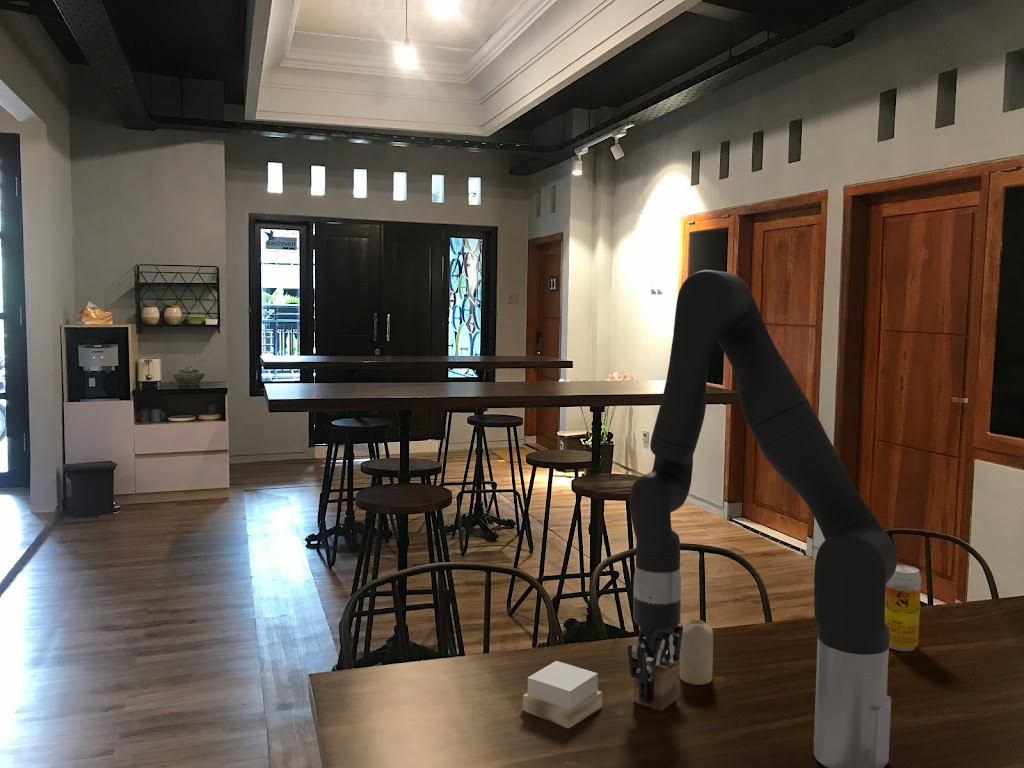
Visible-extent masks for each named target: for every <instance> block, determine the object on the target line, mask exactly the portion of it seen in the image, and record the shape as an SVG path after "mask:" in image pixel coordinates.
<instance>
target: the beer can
mask: <svg viewBox="0 0 1024 768" xmlns="http://www.w3.org/2000/svg"><path fill="white" fill-rule="evenodd" d="M921 589H922V575H921V573H920V569H919V568H917V567H914V566H911V565H910V566H909V565H905V564H897V566H896V570H895V572H894V574H893V576H892V577H891V578H890V580H889V581H888V582H887V583H886V591H885V623H886V624H887V626H888V628H889V633H890V634H889V649H893V650H896V651H900V652H902V651H903V652H912V651H914V650H915V649H916V647H918V646H919V633H920V631H919V630H920V610H921V592H922V591H921Z"/></svg>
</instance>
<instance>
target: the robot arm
mask: <svg viewBox="0 0 1024 768" xmlns="http://www.w3.org/2000/svg"><path fill="white" fill-rule="evenodd" d="M675 305H676V306H675V313H674V321H673V322H674V323H673V325H674V326H673V335H672V342H671V348H670V349H671V350H670V356H669V363H668V369H667V373H666V380H665V385H664V389H663V394H662V397H661V401H660V406H659V409H658V412H657V415H656V416H657V417H656V419H655V423H654V426H653V431H652V433H651V434H652V435H651V438H650V445H649V446H650V451H651V452H652V454H653V455H654V460H653V467H652V468H651V469H652V470H651V472H649V473H645V474H644V475H641V476H639V477H638V478H637V479H635V481H634V482H633V484H632V486H631V489H630V494H629V501H628V503H629V512H630V517H631V521H632V523H631V524H632V527H633V532H634V535H635V539H636V540H635V541H636V543H635V569H634V575H633V597H632V598H633V599H632V601H633V606H632V607H633V608H632V609H633V611H632V612H633V613H632V617H633V618H632V619H633V621H634V622H635V624H636V625H637V626H638V627H639V634H638V637H637V642H636V643H635V644H633V643H629V644H627V645H628V646H627V656H628V663H629V671H630V677H631V679H634V678H635V679H638V680H639V699H640V701H642V702H645V703H648V704H650V703H652V702H653V682H654V681H653V679H654V672H655V669H656V667H658V666H659V663H660V660H663V661H667V662H669V663H673V664H675V662H676V663H678V661H680V648H681V641H682V633H683V625H682V624H680V623H681V607H682V603H681V602H682V577H681V540H680V536H679V534H678V533H677V532H676V531H675V530H673V528H672V520H671V517H672V516H671V513H673V512H675V511H677V510H679V509H680V508H681V507H683V505H684V503H685V502H686V500H687V498H688V496H689V494H690V490H691V485H692V479H693V478H692V477H693V476H692V475H693V466H694V453H695V451H696V448H697V445H698V441H699V438H700V435H701V432H702V427H703V425H704V420H705V415H706V410H707V380H708V370H709V365H710V361H711V355H712V353H713V350H714V347H715V346H716V342H717V343H718V345H719V347H721V349H722V351H723V354H725V356H726V358H727V359H728V362H729V364H730V365H731V368H732V370H733V374H734V376H735V377H734V378H735V382H736V387H737V393H738V397H739V402H740V406H741V410H742V414H743V416H744V419H745V422H746V424H747V426H748V429H749V431H750V432H751V434H752V436H753V438H754V439H755V442H756V444H757V445H758V447H759V448H760V450H761V453H762V454H763V456H764V457H765V459H766V461H767V462H768V463H769V464H770V465H771V467H772V468H773V469H774V470H775V471H776V472H777V474H778V475H780V477H782V478H783V480H784V481H785V482H786V483H787V484H788V485H789V486H790V487H791V488H792V489H793V490H794V491H795V492H796V493H797V495H799V497H800V498H802V500H803V501H804V502H805V504H806V506H807V507H808V509H809V510H810V512H811V514H812V515H813V517H814V520H815V521H816V523H817V525H818V528H819V529H820V531H821V535H822V536H823V538H824V541H823V542H822V543H821V545H820V546H819V547H818V550H817V553H816V557H815V562H814V577H813V579H814V581H813V583H814V585H813V588H814V590H813V591H814V592H813V594H814V595H813V599H814V600H813V601H814V602H813V603H814V604H813V607H814V609H813V610H814V611H813V613H814V618H815V622H816V625H817V644H816V645H817V647H816V648H817V650H816V677H815V702H814V703H815V705H814V728H813V729H814V730H813V731H814V732H813V733H814V735H813V755H814V758H815V759H816V761H817V762H819V764H821V765H822V766H824V767H825V768H885V767H886V765H887V764H888V763H889V757H890V755H889V754H890V737H891V734H890V733H891V716H892V715H891V713H892V712H891V711H892V710H891V709H892V708H891V707H892V697H891V696H890V695H888V679H889V678H888V676H889V675H888V673H889V670H888V669H889V653H890V651H889V650H890V647H889V634H890V633H889V628H888V626H887V624H886V623H885V591H886V583H887V582H888V581H889V580H890V578H891V577H892V576H893V574H894V572H895V570H896V566H897V565H898V556H897V555H898V554H897V551H896V547H895V545H894V543H893V541H892V539H891V538H890V536H889V535H888V533H887V532H886V530H885V528H883V526H882V525H881V523H880V522H879V520H878V519H877V518H876V516H875V514H873V512H872V510H871V509H870V508H869V506H868V505H867V503H866V502H865V500H864V499H863V497H862V496H861V494H860V493H859V491H858V490H857V489H856V487H855V484H853V481H852V480H851V478H850V476H849V474H848V473H847V470H846V468H845V466H844V464H843V463H842V461H841V458H840V456H839V454H838V453H837V451H836V449H835V447H834V446H833V444H832V442H831V440H830V438H829V436H828V434H827V432H826V431H825V428H824V426H823V424H822V422H821V420H820V419H819V416H818V415H817V413H816V411H815V410H814V407H813V406H812V404H811V403H810V401H809V399H808V398H807V396H806V395H805V393H804V392H803V390H802V388H801V386H800V385H799V383H798V381H797V379H796V377H795V376H794V375H793V373H792V371H791V369H790V367H789V365H788V364H787V362H786V361H785V359H784V358H783V356H782V355H781V353H780V352H779V350H778V348H777V346H776V345H775V343H774V341H773V339H772V337H771V335H770V333H769V331H768V328H767V326H766V324H765V321H764V319H763V316H762V315H761V312H760V310H759V308H758V305H757V303H756V300H755V298H754V296H753V294H752V291H751V289H750V287H749V286H748V284H747V283H746V282H745V281H744V280H743V279H742V278H740V277H739V276H738V275H736V274H733V273H731V272H727V271H719V270H713V269H704V270H699V271H696V272H694V273H693V274H690V275H689V276H688V277H687V278H686V279H685V280H684V281H683V283H682V284H681V287H680V288H679V292H678V296H677V300H676V304H675ZM648 657H650V658H654V660H653V661H651V660H648V659H647V658H648ZM647 665H648V666H649V672H647ZM637 668H638V671H637Z"/></svg>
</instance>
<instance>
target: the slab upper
mask: <svg viewBox="0 0 1024 768" xmlns="http://www.w3.org/2000/svg"><path fill="white" fill-rule="evenodd" d="M598 677H599V676H598V672H594V671H591V670H588V669H584V668H581V667H578V666H575V665H572V664H569V663H566V662H562V661H559V660H555V661H554V662H552V663H550V664H548V665H546V666H545V667H544V668H541V669H539V670H538V671H537V672H535V673H533V674H532V675H530V676H528V677H527V693H528V696H530V697H532V698H535V699H538V700H541V701H544V702H547V703H550V704H553V705H556V706H559V707H562V708H565V709H567V710H571V709H573V708H574V707H576V706H577V705H579V704H580V703H581V702H583V701H584V700H586V699H587V698H589V697H590V696H592V695H593V694H595V693H596V692H597V691H599V690H598V689H599V687H598V686H599V685H598V684H599V682H598V681H599V680H598V679H599V678H598Z"/></svg>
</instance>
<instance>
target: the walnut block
mask: <svg viewBox="0 0 1024 768" xmlns="http://www.w3.org/2000/svg"><path fill="white" fill-rule="evenodd" d="M646 659H648V660H651V661H653V660H654V658H650V657H646ZM637 671H638V668H637ZM647 672H649V666H648V665H647ZM677 678H678V664H676V663H674V664H673V663H669V662H667V661H663V660H660V663H659V666H658V667H656V669H655V672H654V679H653V681H654V682H653V702H652V703H650V704H648V703H645V702H642V701H640V699H639V680H638V679H635V678H633V702H634V703H636V704H638V705H642V706H645V707H647V708H649V709H652V710H656V711H658V712H662V711H663V710H665V709H666V708H668V707H669V706H670V705H672V704H673V703H674V702H676V701H677V689H678V687H677V686H678V685H677V683H678V679H677Z"/></svg>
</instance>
